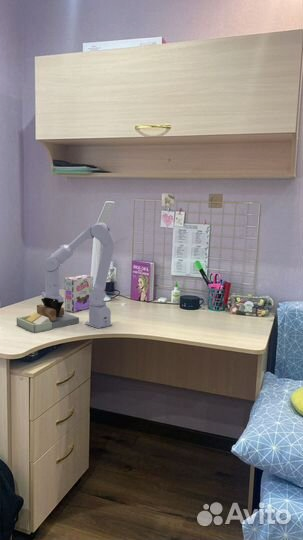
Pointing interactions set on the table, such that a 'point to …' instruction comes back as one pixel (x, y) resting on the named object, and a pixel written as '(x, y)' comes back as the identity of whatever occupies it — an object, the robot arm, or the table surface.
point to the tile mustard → (33, 318)
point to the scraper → (49, 312)
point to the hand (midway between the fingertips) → (52, 315)
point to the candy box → (78, 292)
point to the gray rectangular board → (59, 322)
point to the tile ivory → (41, 320)
